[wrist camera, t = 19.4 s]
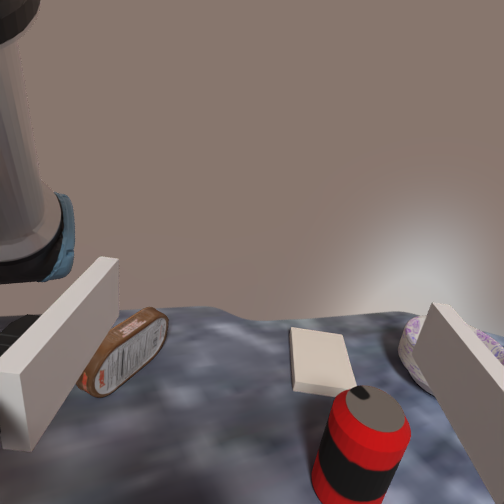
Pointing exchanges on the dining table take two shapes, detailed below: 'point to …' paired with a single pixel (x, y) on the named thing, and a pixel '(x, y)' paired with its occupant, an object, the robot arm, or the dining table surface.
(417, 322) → the paper bowls
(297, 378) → the block
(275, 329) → the dining table surface
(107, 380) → the tin
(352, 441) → the soda can
